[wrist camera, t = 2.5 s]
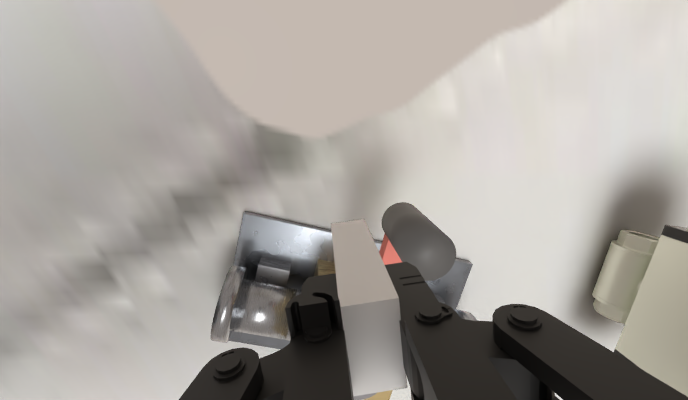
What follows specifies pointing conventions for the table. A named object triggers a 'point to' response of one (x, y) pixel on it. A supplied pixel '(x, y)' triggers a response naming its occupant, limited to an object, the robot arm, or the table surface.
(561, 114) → the table surface
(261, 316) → the valve assembly
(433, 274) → the lever
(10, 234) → the table surface
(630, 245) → the ball valve
